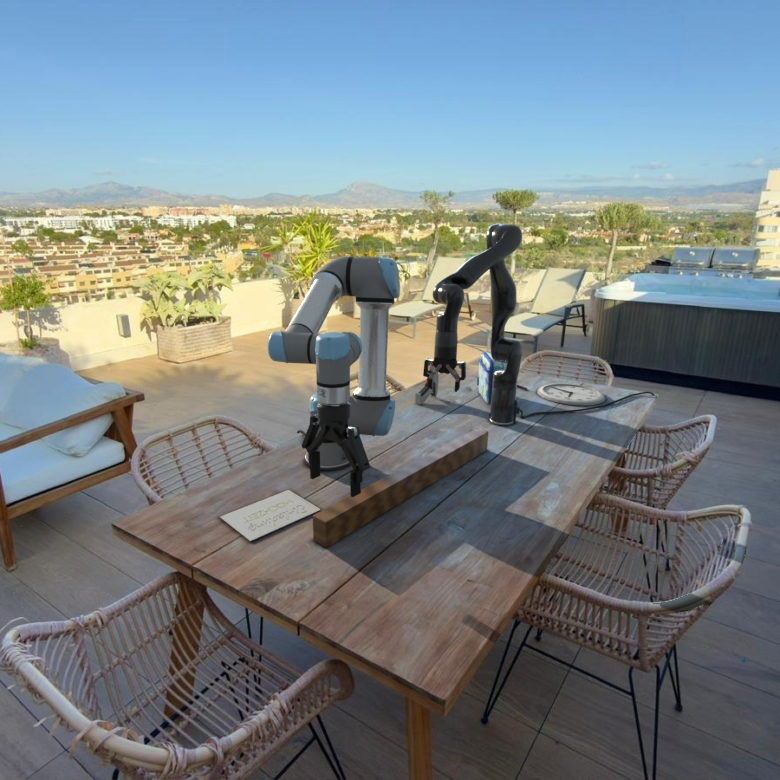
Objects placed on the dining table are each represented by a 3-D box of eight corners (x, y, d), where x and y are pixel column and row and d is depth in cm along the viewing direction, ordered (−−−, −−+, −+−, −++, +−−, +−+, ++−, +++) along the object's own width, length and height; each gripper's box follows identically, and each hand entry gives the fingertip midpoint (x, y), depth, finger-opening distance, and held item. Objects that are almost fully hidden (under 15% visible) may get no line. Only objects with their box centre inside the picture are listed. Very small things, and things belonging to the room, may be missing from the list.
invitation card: (288, 489, 150) (320, 509, 140) (288, 490, 150) (320, 510, 140) (219, 516, 136) (250, 540, 125) (219, 517, 136) (250, 541, 126)
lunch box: (475, 390, 246) (478, 346, 240) (498, 390, 246) (501, 347, 240) (484, 408, 221) (487, 360, 215) (509, 409, 221) (513, 360, 215)
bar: (475, 446, 183) (477, 428, 181) (487, 450, 180) (488, 431, 178) (313, 540, 127) (312, 515, 125) (326, 547, 124) (325, 522, 122)
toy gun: (414, 370, 220) (434, 361, 231) (415, 405, 226) (434, 395, 237) (419, 371, 219) (438, 362, 230) (419, 406, 225) (438, 396, 236)
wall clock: (618, 401, 228) (551, 402, 225) (618, 405, 228) (551, 406, 226) (588, 382, 256) (528, 382, 254) (587, 385, 257) (528, 385, 254)
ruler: (503, 382, 259) (503, 380, 259) (504, 382, 259) (504, 380, 259) (526, 390, 247) (526, 388, 247) (527, 390, 247) (527, 388, 247)
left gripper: (285, 393, 124) (288, 475, 130) (363, 418, 108) (362, 509, 115) (308, 387, 129) (311, 465, 135) (386, 409, 114) (384, 496, 120)
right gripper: (422, 344, 173) (421, 391, 178) (465, 347, 169) (462, 395, 174) (427, 339, 180) (425, 385, 184) (468, 343, 176) (466, 388, 181)
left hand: (334, 485), depth 125 cm, fingers open, 13 cm apart
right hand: (443, 390), depth 179 cm, fingers open, 8 cm apart
